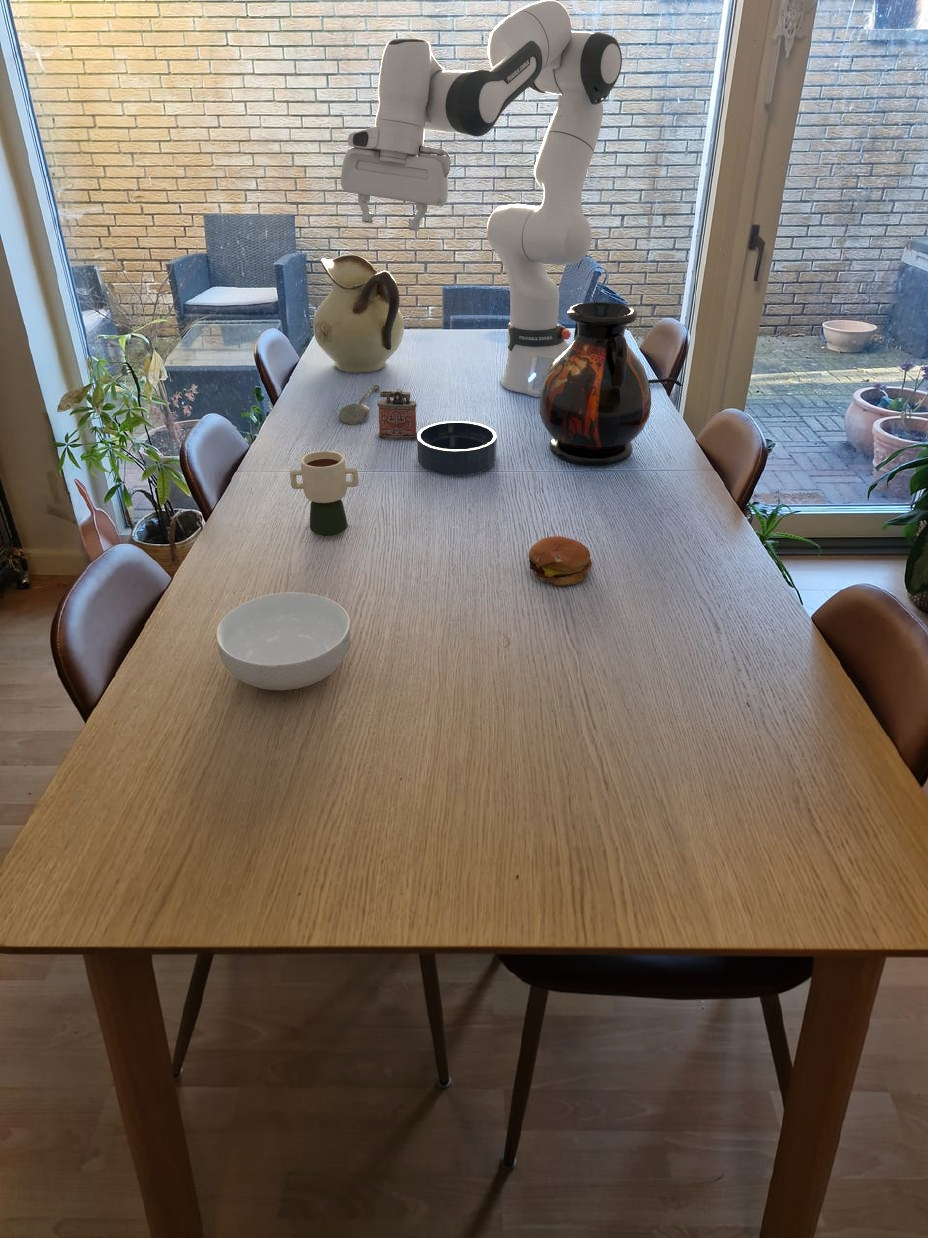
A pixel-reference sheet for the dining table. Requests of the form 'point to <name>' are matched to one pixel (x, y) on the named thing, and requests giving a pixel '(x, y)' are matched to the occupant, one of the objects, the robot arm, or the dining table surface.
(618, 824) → the dining table surface
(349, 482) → the character mug
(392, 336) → the pitcher
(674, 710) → the dining table surface
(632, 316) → the amphora vase
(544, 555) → the burger
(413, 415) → the lighter
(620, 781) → the dining table surface
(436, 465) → the bowl
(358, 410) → the soupspoon
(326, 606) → the cereal bowl
